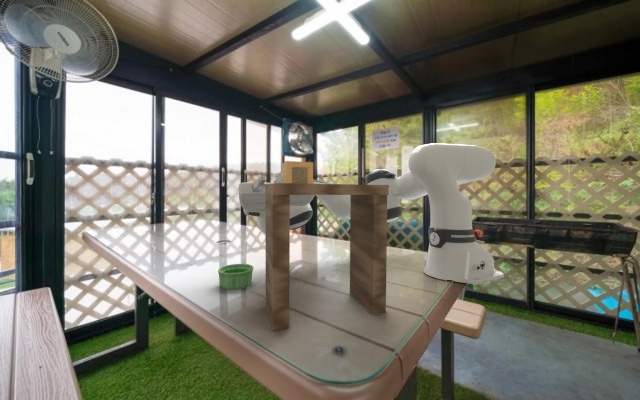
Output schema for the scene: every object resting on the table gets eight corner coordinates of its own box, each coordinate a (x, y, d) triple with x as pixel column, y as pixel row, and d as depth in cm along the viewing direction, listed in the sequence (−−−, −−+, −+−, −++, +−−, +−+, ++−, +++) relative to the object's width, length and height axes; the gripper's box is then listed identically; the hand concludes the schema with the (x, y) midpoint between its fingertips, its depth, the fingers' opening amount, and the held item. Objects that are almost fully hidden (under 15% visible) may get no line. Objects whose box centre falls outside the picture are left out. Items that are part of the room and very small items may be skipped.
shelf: (359, 291, 63) (360, 186, 63) (387, 313, 52) (388, 185, 51) (265, 304, 56) (265, 185, 56) (273, 332, 45) (273, 183, 44)
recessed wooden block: (290, 186, 66) (290, 171, 66) (313, 183, 48) (313, 162, 47) (271, 186, 65) (271, 170, 65) (286, 183, 46) (286, 161, 46)
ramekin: (223, 293, 62) (223, 275, 62) (214, 283, 70) (214, 267, 69) (258, 285, 68) (258, 269, 68) (246, 276, 75) (246, 261, 75)
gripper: (310, 213, 77) (323, 189, 65) (238, 214, 70) (239, 188, 59) (307, 195, 80) (319, 169, 68) (238, 194, 73) (238, 166, 62)
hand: (281, 178), depth 64 cm, fingers open, 8 cm apart
